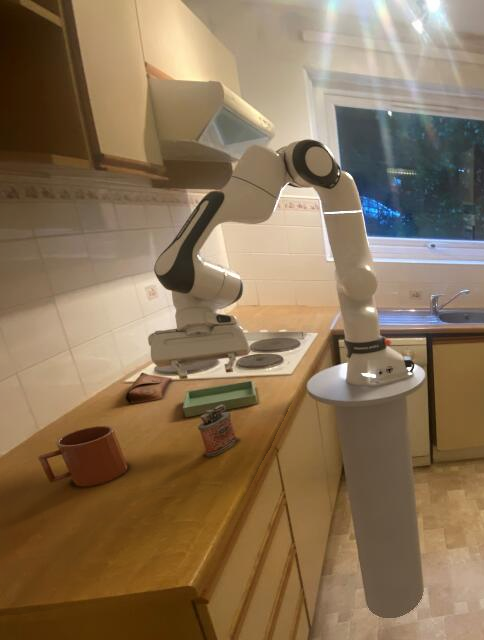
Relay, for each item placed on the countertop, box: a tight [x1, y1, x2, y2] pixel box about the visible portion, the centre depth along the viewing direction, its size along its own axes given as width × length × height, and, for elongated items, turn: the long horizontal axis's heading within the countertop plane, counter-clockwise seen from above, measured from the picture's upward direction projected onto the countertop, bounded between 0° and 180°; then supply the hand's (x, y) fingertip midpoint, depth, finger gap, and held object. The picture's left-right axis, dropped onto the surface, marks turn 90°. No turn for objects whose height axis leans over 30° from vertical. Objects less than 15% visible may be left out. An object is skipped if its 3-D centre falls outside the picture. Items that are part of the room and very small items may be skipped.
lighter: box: [197, 405, 238, 457], centre depth 101 cm, size 8×3×10 cm, turn 170°
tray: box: [182, 380, 258, 418], centre depth 126 cm, size 17×13×3 cm
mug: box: [37, 425, 128, 487], centre depth 90 cm, size 12×9×10 cm
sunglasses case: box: [125, 372, 172, 404], centre depth 133 cm, size 18×7×7 cm
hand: (206, 374), depth 106 cm, fingers open, 8 cm apart
